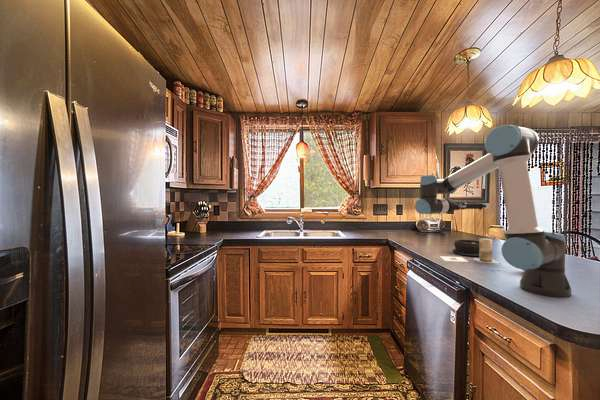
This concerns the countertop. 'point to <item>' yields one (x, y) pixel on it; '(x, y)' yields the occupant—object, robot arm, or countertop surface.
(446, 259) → the board
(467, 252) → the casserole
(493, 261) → the sage pad
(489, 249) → the maple post
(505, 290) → the countertop surface
